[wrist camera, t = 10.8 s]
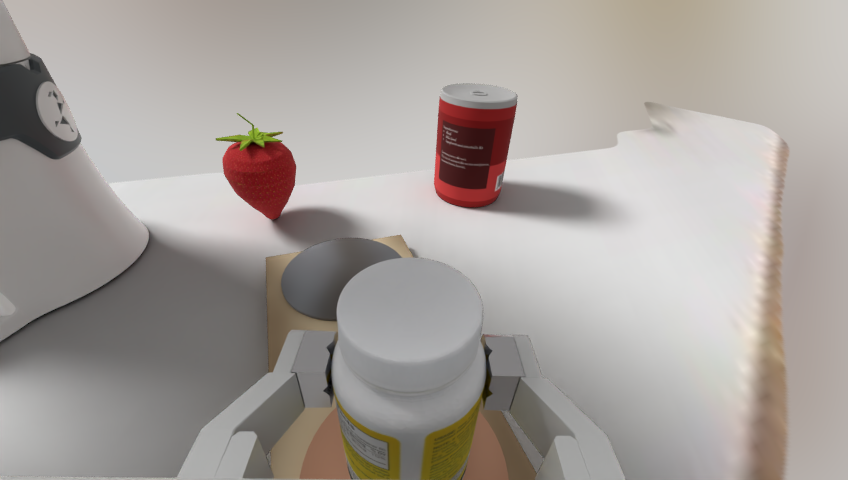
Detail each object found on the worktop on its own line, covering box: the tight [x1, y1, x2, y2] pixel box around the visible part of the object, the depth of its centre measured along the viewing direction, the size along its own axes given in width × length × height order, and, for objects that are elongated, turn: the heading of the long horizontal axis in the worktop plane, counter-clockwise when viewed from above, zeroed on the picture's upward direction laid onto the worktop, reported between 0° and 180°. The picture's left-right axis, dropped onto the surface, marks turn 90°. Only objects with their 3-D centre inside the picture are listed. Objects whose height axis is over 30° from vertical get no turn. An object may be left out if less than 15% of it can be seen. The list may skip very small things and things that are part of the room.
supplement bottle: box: [331, 257, 486, 480], centre depth 12 cm, size 5×5×8 cm
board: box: [266, 235, 537, 480], centre depth 21 cm, size 11×23×2 cm, turn 21°
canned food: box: [434, 84, 517, 207], centre depth 38 cm, size 8×8×11 cm
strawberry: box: [216, 113, 296, 219], centre depth 32 cm, size 6×8×10 cm
